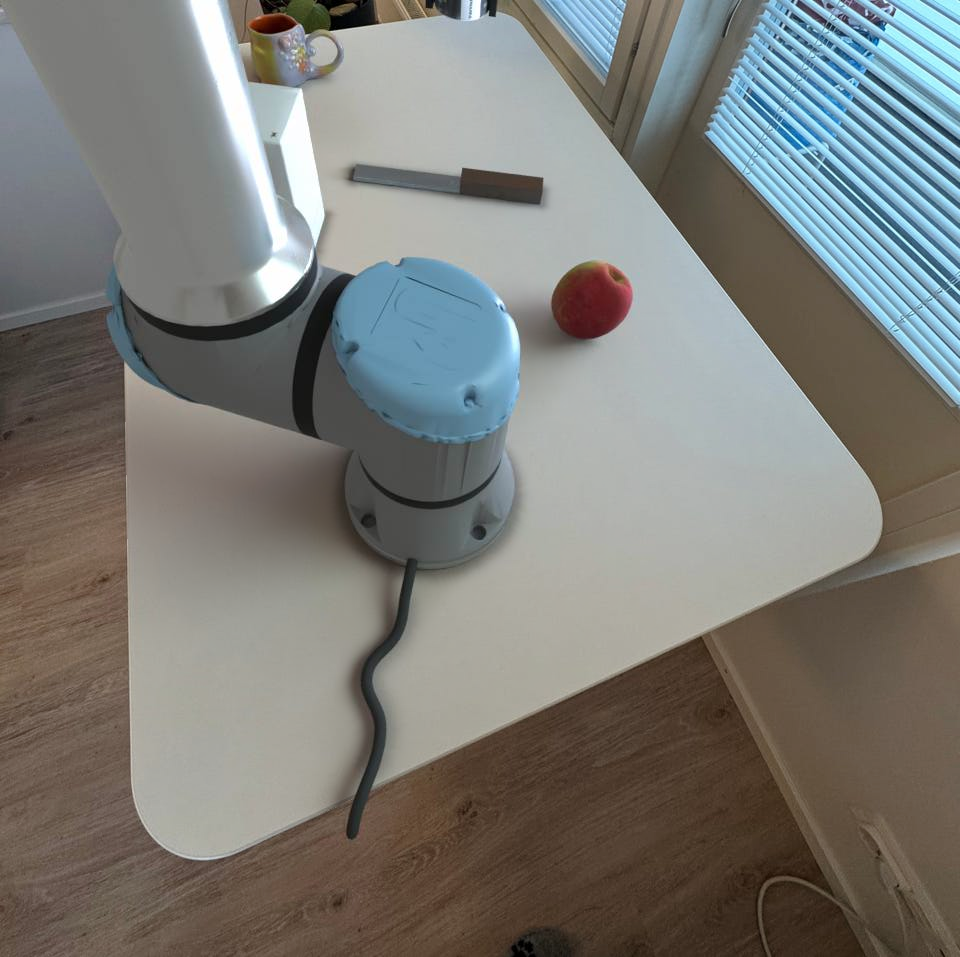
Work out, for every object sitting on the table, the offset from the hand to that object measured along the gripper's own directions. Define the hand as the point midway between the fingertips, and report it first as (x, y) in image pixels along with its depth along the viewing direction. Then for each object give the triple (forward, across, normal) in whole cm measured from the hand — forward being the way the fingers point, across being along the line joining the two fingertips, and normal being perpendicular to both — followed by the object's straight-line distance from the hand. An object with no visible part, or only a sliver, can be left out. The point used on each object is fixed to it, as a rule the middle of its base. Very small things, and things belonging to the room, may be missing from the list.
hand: (462, 5), depth 67 cm
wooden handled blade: (+16, +1, +8) cm, 18 cm away
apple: (+16, -17, +28) cm, 36 cm away
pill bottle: (0, 0, 0) cm, 0 cm away
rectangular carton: (+16, +18, +20) cm, 31 cm away
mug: (+16, +22, -10) cm, 30 cm away
